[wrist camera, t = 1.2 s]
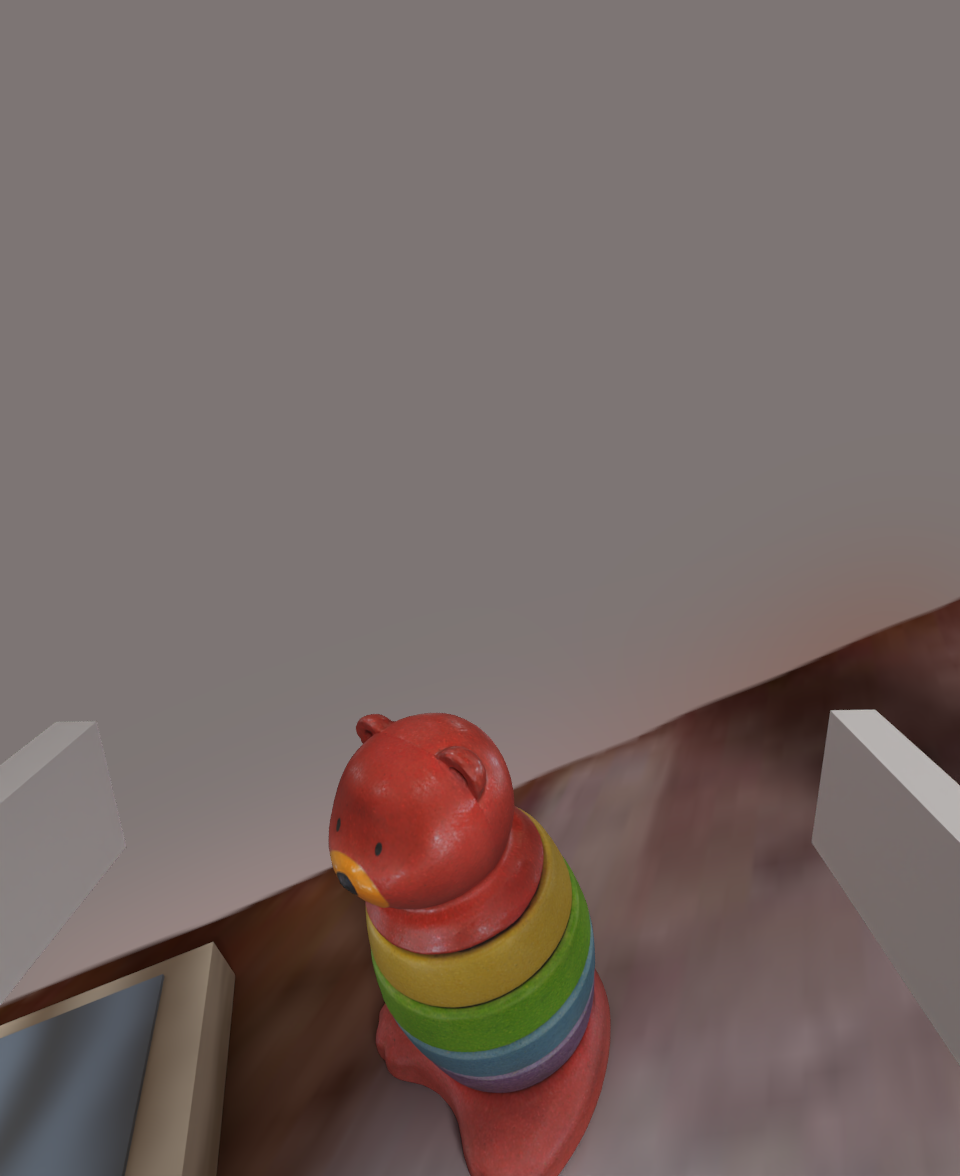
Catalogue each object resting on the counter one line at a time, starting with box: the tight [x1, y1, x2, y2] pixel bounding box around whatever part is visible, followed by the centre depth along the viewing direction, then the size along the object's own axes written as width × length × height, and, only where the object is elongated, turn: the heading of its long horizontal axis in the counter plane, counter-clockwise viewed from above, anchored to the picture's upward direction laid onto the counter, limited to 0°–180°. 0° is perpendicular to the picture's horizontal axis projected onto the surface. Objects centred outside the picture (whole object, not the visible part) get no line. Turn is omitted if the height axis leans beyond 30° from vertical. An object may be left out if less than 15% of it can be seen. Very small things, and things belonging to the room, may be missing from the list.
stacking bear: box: [329, 713, 610, 1176], centre depth 27 cm, size 11×10×18 cm
